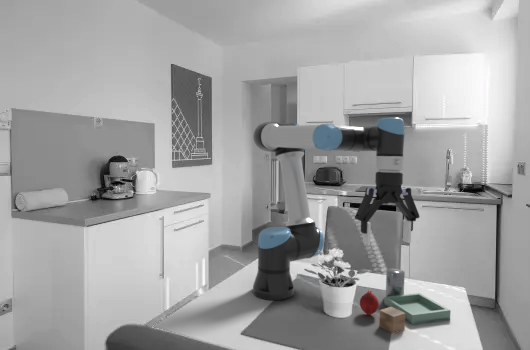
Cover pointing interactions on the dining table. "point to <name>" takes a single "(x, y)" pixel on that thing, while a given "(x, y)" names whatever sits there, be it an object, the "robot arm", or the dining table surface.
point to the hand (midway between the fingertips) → (386, 243)
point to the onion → (369, 303)
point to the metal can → (394, 282)
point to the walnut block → (392, 320)
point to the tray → (418, 308)
